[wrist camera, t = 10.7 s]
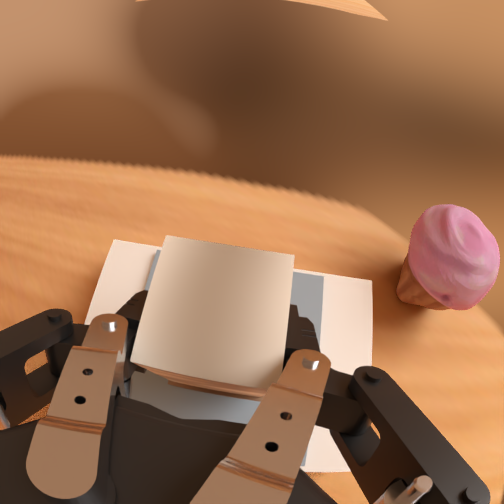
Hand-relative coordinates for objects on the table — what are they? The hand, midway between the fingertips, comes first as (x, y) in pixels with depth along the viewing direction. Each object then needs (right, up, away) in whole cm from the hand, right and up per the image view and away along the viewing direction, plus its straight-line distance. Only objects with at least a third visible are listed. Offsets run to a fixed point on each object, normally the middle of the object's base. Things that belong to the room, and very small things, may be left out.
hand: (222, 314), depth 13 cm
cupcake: (+17, -1, +13) cm, 22 cm away
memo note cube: (0, -3, +4) cm, 5 cm away
